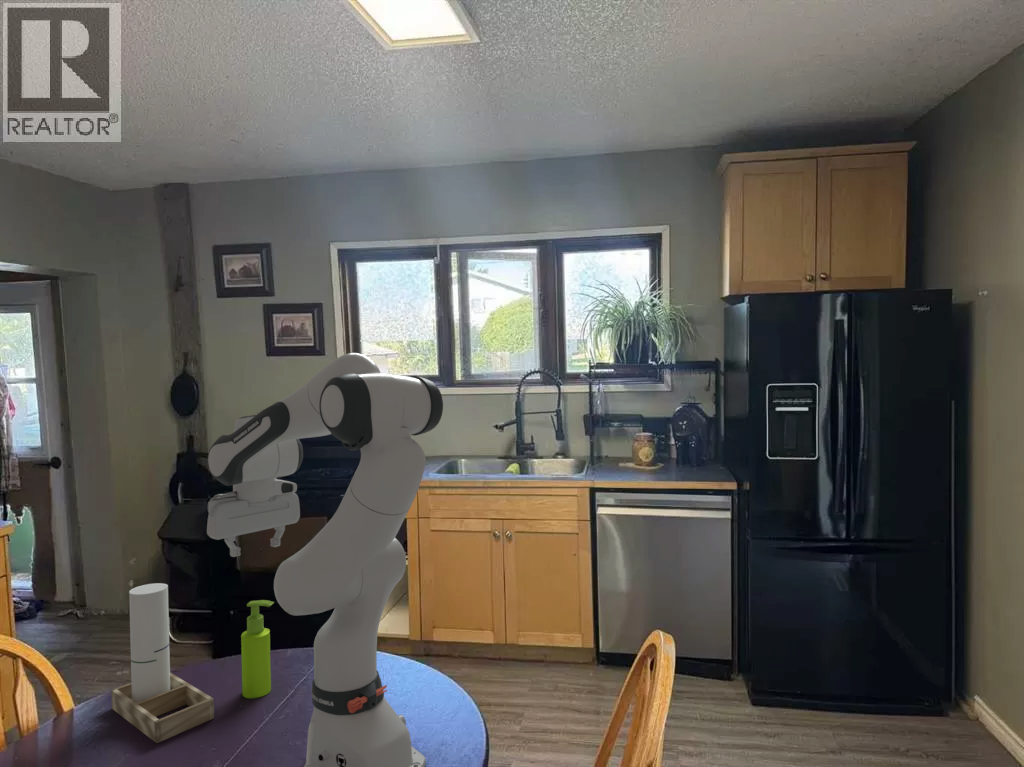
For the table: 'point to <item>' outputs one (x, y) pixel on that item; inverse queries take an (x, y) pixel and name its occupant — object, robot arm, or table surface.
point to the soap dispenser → (256, 654)
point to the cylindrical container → (149, 641)
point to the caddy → (164, 709)
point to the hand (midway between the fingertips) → (255, 551)
